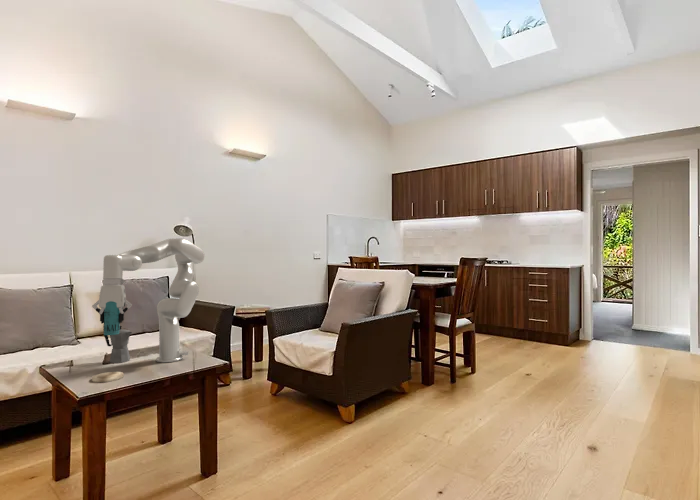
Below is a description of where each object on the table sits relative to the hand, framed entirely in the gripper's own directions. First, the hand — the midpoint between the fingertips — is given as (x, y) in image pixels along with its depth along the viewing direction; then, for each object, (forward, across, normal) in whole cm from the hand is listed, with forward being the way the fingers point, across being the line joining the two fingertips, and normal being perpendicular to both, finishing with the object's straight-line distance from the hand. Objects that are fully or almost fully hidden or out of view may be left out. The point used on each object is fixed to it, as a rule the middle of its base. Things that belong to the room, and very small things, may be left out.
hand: (112, 322), depth 185 cm
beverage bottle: (+7, 0, 0) cm, 7 cm away
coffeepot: (+24, +4, -30) cm, 39 cm away
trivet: (+24, +1, +2) cm, 24 cm away
